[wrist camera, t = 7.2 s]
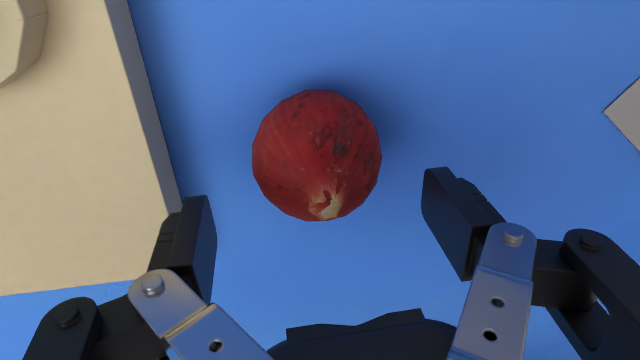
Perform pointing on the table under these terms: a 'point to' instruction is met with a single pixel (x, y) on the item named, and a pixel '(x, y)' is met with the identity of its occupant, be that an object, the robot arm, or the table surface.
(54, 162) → the green button plaque
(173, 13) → the table surface
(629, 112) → the stacked layers on plate
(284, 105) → the onion
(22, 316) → the table surface
